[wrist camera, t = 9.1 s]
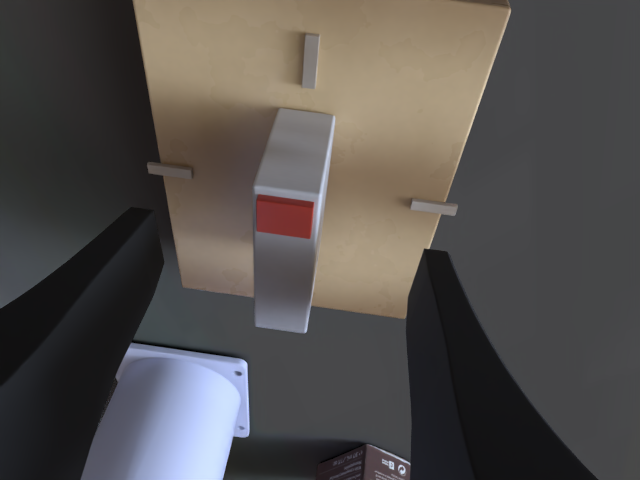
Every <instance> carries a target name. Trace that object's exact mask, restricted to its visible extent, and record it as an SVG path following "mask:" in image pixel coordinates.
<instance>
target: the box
mask: <svg viewBox="0 0 640 480" xmlns="http://www.w3.org/2000/svg"><path fill="white" fill-rule="evenodd" d="M316 480H410V463H409V462H407V461H406V460H405V459H404V458H401V457H398V456H396V455H394V454H393V453H391V452H388V451H385V450H383V449H379V448H377V447H375V446H372V445H369V444H365V445H363V446H362V447H359V448H356V449H354V450H352V451H350V452H348V453H345V454H343V455H340V456H339V457H336V458H334V459H331V460H329V461H326V462H323V463H320V464H318V466H317V473H316Z"/></svg>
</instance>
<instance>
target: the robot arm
mask: <svg viewBox="0 0 640 480" xmlns="http://www.w3.org/2000/svg"><path fill="white" fill-rule="evenodd" d="M163 265H164V258H163V253H162V248H161V244H160V239H159V234H158V229H157V224H156V219H155V214H154V210H148V209H141V208H134V207H131V208H129V209H128V210H127V211H126V212H125V213H123V214H122V215H121V216H120V217H119V218H118V219H116V220H115V221H114V222H113V223H112V224H111V225H110V226H108V227H107V228H106V229H105V230H104V231H103V232H102V233H100V234H99V235H98V236H97V237H96V238H95V239H94V240H92V241H91V242H90V243H89V244H88V245H86V246H85V247H84V248H83V249H82V250H80V251H79V252H78V253H77V254H76V255H74V256H73V257H72V258H71V259H70V260H68V261H67V262H66V263H65V264H63V265H62V266H61V267H59V268H58V269H57V270H55V271H54V272H53V273H51V274H50V275H49V276H47V277H46V278H45V279H43V280H42V281H41V282H40V283H38V284H37V285H35V286H34V287H33V288H31V289H30V290H28V291H27V292H25V293H24V294H23V295H21V296H20V297H18V298H17V299H15V300H13V301H12V302H10V303H9V304H7V305H6V306H4V307H3V308H1V309H0V480H223V477H224V472H225V468H226V464H227V460H228V456H229V452H230V448H231V443H232V439H233V436H236V437H247V436H248V435H249V431H250V427H249V399H248V371H247V363H246V362H245V361H244V360H242V359H239V358H233V357H227V356H220V355H213V354H206V353H199V352H192V351H185V350H179V349H172V348H165V347H158V346H151V345H144V344H137V343H131V342H132V340H133V338H134V336H135V333H136V331H137V329H138V327H139V325H140V323H141V321H142V319H143V317H144V315H145V313H146V311H147V308H148V306H149V304H150V302H151V300H152V298H153V296H154V293H155V290H156V287H157V284H158V281H159V278H160V275H161V271H162V268H163ZM406 340H407V355H408V369H409V383H410V397H411V417H412V432H411V464H410V480H598V479H597V478H596V477H595V476H594V475H593V474H592V473H591V472H590V471H589V470H588V469H587V468H586V467H585V466H584V465H583V464H582V463H581V461H580V460H579V459H578V458H577V457H576V456H575V455H574V454H573V453H572V451H571V450H570V449H569V448H568V447H567V446H566V445H565V444H564V443H563V441H562V440H561V439H560V438H559V436H558V435H557V434H556V433H555V432H554V430H553V429H552V428H551V427H550V425H549V424H548V423H547V422H546V420H545V419H544V418H543V417H542V416H541V414H540V413H539V412H538V411H537V409H536V408H535V407H534V406H533V404H532V403H531V401H530V400H529V399H528V397H527V396H526V395H525V393H524V392H523V391H522V389H521V388H520V386H519V385H518V383H517V382H516V381H515V379H514V378H513V376H512V375H511V373H510V372H509V370H508V369H507V367H506V366H505V364H504V362H503V361H502V359H501V358H500V356H499V354H498V353H497V351H496V349H495V348H494V346H493V344H492V342H491V341H490V339H489V337H488V335H487V334H486V332H485V330H484V328H483V326H482V324H481V322H480V320H479V319H478V317H477V315H476V313H475V311H474V309H473V307H472V305H471V303H470V301H469V299H468V296H467V294H466V292H465V290H464V288H463V285H462V283H461V281H460V279H459V276H458V274H457V271H456V269H455V266H454V264H453V261H452V259H451V256H450V254H449V253H448V252H446V251H439V250H432V249H425V248H424V250H423V253H422V256H421V259H420V262H419V265H418V268H417V271H416V274H415V277H414V280H413V283H412V286H411V289H410V292H409V295H408V302H407V321H406ZM115 376H116V379H117V381H118V384H117V386H116V388H115V391H114V393H113V395H112V397H111V400H110V402H109V404H108V407H107V409H106V411H105V413H104V416H103V418H102V420H101V422H100V425H99V427H98V429H97V426H98V423H99V420H100V417H101V414H102V411H103V409H104V406H105V403H106V400H107V397H108V395H109V392H110V389H111V386H112V383H113V381H114V378H115ZM96 429H97V431H96ZM95 432H96V434H95ZM94 435H95V436H94Z"/></svg>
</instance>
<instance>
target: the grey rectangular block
mask: <svg viewBox="0 0 640 480" xmlns="http://www.w3.org/2000/svg"><path fill="white" fill-rule="evenodd" d="M334 127H335V116H334V115H329V114H321V113H314V112H307V111H299V110H292V109H284V108H279V109H278V111H277V114H276V117H275V120H274V123H273V126H272V129H271V132H270V135H269V138H268V141H267V144H266V147H265V150H264V153H263V156H262V159H261V162H260V165H259V168H258V171H257V174H256V177H255V180H254V183H253V186H252V196H253V263H254V324H255V326H257V327H263V328H270V329H277V330H284V331H291V332H297V333H306V331H307V326H308V320H309V314H310V307H311V301H312V295H313V289H314V282H315V276H316V270H317V263H318V257H319V251H320V242H321V234H322V226H323V218H324V209H325V201H326V193H327V185H328V176H329V168H330V160H331V152H332V143H333V135H334Z"/></svg>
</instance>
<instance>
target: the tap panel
mask: <svg viewBox="0 0 640 480" xmlns="http://www.w3.org/2000/svg"><path fill="white" fill-rule="evenodd" d="M133 6H134V12H135V18H136V23H137V29H138V35H139V41H140V46H141V52H142V58H143V64H144V69H145V75H146V81H147V87H148V92H149V98H150V104H151V110H152V115H153V121H154V127H155V133H156V138H157V144H158V150H159V156H160V161H161V163H155V162H148V164H147V167H148V172H149V174H157V175H163V179H164V184H165V190H166V196H167V202H168V207H169V213H170V219H171V225H172V230H173V236H174V242H175V248H176V253H177V259H178V265H179V271H180V276H181V282H182V287H184V288H191V289H198V290H205V291H212V292H219V293H226V294H233V295H239V296H246V297H253V298H254V263H253V196H252V186H253V183H254V180H255V177H256V174H257V171H258V168H259V165H260V162H261V159H262V156H263V153H264V150H265V147H266V144H267V141H268V138H269V135H270V132H271V129H272V126H273V123H274V120H275V117H276V114H277V111H278V109H279V108H284V109H292V110H299V111H307V112H314V113H321V114H329V115H334V116H335V127H334V135H333V143H332V152H331V160H330V168H329V176H328V185H327V193H326V201H325V209H324V218H323V226H322V234H321V242H320V251H319V257H318V263H317V270H316V276H315V282H314V289H313V295H312V301H311V306H316V307H323V308H330V309H337V310H344V311H351V312H358V313H365V314H372V315H379V316H386V317H393V318H400V319H405V317H406V315H407V302H408V295H409V292H410V289H411V286H412V283H413V280H414V277H415V274H416V271H417V268H418V265H419V262H420V259H421V256H422V253H423V250H424V248H425V249H429V248H430V245H431V242H432V239H433V236H434V233H435V231H436V228H437V225H438V222H439V219H440V216H441V214H445V215H452V216H455V213H456V210H457V208H458V207H457V204H451V203H445V202H446V199H447V196H448V193H449V190H450V187H451V184H452V181H453V178H454V176H455V173H456V170H457V167H458V164H459V161H460V158H461V155H462V152H463V149H464V147H465V144H466V141H467V138H468V135H469V132H470V129H471V126H472V123H473V121H474V118H475V115H476V112H477V109H478V106H479V103H480V100H481V97H482V94H483V92H484V89H485V86H486V83H487V80H488V77H489V74H490V71H491V68H492V66H493V63H494V60H495V57H496V54H497V51H498V48H499V45H500V42H501V39H502V37H503V34H504V31H505V28H506V25H507V22H508V19H509V16H510V13H511V7H510V5H509V2H508V0H133Z"/></svg>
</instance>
